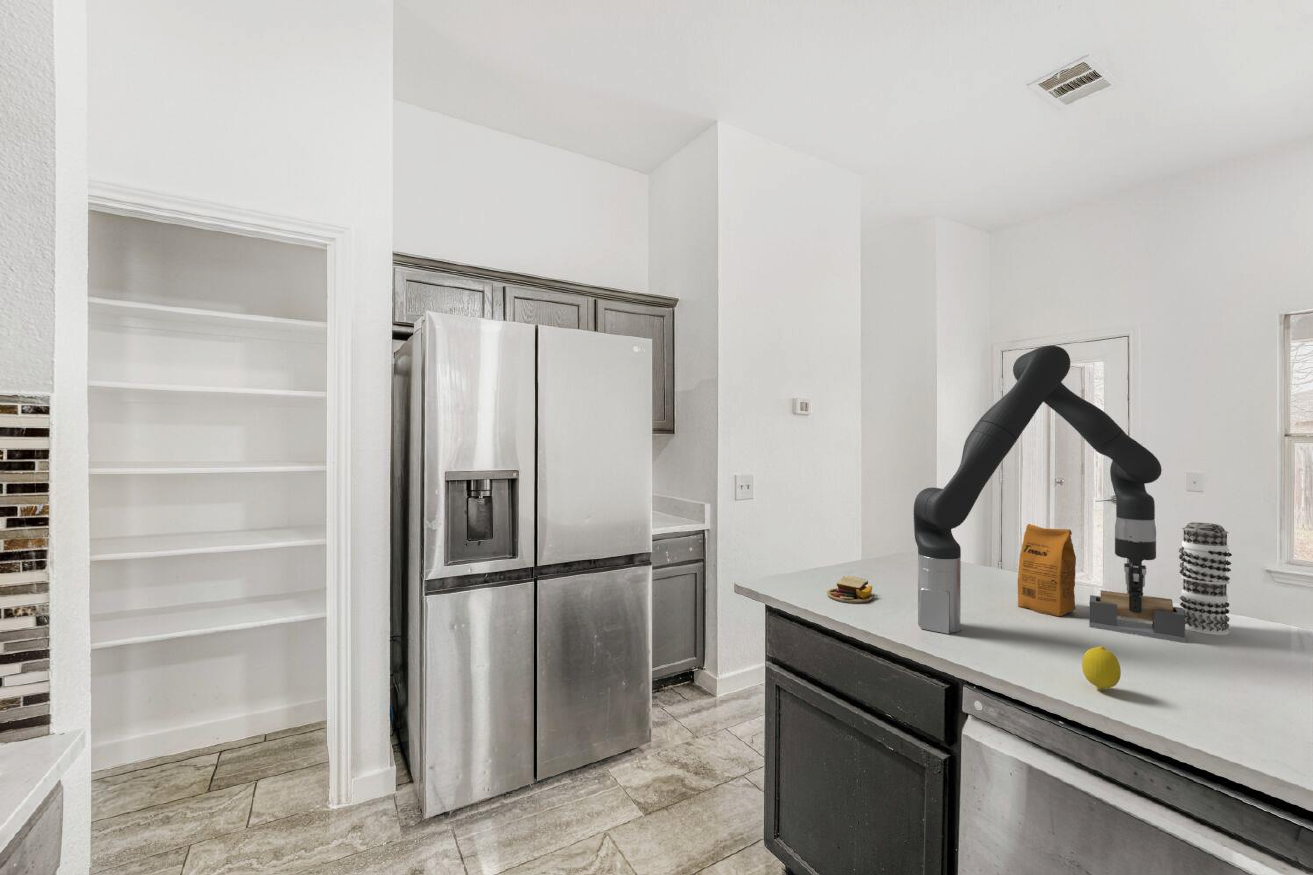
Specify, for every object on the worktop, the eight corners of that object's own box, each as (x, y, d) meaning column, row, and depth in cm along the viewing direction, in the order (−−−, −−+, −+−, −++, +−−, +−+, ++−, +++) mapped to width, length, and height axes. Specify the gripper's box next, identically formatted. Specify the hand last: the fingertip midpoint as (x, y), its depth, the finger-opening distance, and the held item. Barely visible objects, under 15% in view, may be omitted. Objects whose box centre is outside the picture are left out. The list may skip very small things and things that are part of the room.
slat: (1172, 624, 131) (1172, 602, 131) (1100, 613, 139) (1100, 592, 139) (1171, 620, 133) (1171, 599, 133) (1100, 610, 141) (1100, 589, 141)
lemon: (1074, 684, 107) (1074, 641, 107) (1102, 683, 107) (1102, 640, 107) (1099, 697, 101) (1100, 652, 101) (1128, 696, 102) (1129, 651, 102)
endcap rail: (1185, 642, 127) (1185, 615, 127) (1089, 626, 138) (1089, 601, 138) (1181, 632, 134) (1181, 607, 134) (1090, 618, 144) (1090, 594, 144)
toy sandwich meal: (818, 597, 163) (818, 581, 163) (842, 589, 173) (842, 573, 172) (859, 607, 154) (859, 590, 154) (882, 597, 163) (882, 581, 163)
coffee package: (1032, 600, 159) (1033, 521, 159) (1082, 613, 148) (1082, 528, 148) (1010, 605, 155) (1010, 524, 155) (1059, 618, 144) (1059, 531, 144)
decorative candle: (1230, 628, 137) (1231, 523, 136) (1232, 638, 130) (1233, 528, 130) (1178, 619, 143) (1179, 519, 143) (1177, 629, 136) (1178, 524, 136)
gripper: (1114, 531, 144) (1114, 600, 144) (1115, 540, 132) (1114, 614, 133) (1154, 534, 139) (1153, 605, 139) (1158, 543, 128) (1158, 621, 128)
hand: (1134, 609), depth 136 cm, fingers closed on slat, 3 cm apart
